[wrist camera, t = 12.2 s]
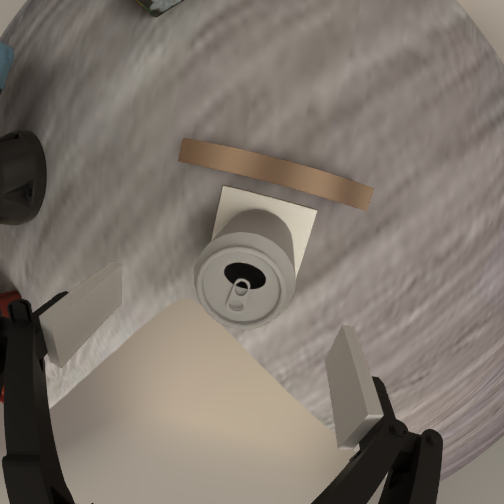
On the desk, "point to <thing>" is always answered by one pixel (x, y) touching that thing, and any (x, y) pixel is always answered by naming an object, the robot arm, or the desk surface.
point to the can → (247, 271)
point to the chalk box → (157, 5)
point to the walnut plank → (276, 172)
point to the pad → (292, 214)
